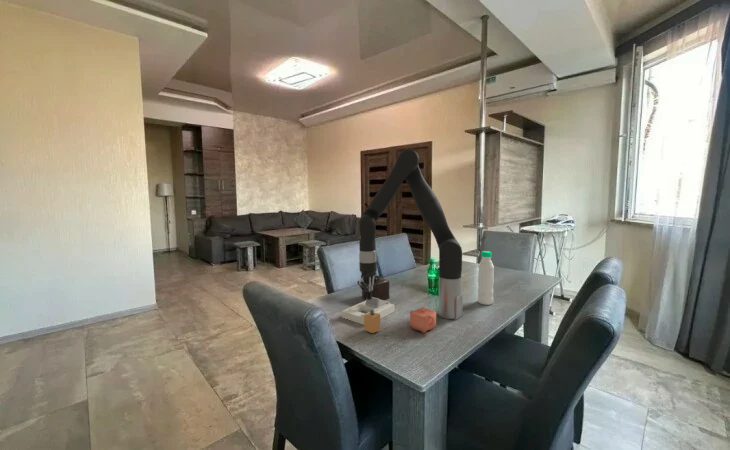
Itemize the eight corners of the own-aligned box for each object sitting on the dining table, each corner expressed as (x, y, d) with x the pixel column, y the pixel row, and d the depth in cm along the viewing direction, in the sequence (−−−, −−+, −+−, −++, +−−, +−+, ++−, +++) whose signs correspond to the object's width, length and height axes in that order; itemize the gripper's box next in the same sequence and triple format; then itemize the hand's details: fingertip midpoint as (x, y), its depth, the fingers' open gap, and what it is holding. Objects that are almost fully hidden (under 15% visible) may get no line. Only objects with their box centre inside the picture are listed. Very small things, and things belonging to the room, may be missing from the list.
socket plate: (394, 311, 147) (394, 303, 147) (367, 325, 131) (366, 316, 131) (370, 304, 156) (370, 297, 155) (341, 317, 140) (341, 309, 140)
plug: (380, 331, 126) (380, 310, 125) (373, 335, 123) (373, 313, 122) (371, 328, 129) (371, 307, 128) (364, 332, 126) (363, 311, 125)
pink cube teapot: (416, 321, 135) (416, 302, 134) (440, 330, 126) (440, 310, 125) (403, 327, 130) (403, 307, 129) (428, 336, 121) (428, 315, 120)
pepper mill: (391, 298, 165) (390, 263, 163) (375, 303, 158) (374, 267, 156) (370, 291, 177) (370, 258, 175) (355, 295, 169) (354, 262, 168)
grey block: (386, 303, 148) (386, 295, 148) (377, 308, 143) (377, 299, 142) (374, 300, 152) (374, 292, 152) (365, 304, 147) (365, 296, 147)
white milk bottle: (476, 304, 154) (477, 252, 152) (478, 299, 161) (479, 249, 158) (492, 306, 151) (493, 253, 149) (493, 301, 157) (495, 250, 155)
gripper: (365, 264, 133) (366, 305, 135) (383, 258, 144) (384, 296, 145) (351, 262, 138) (352, 301, 140) (370, 257, 148) (371, 293, 150)
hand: (369, 299), depth 143 cm, fingers closed
